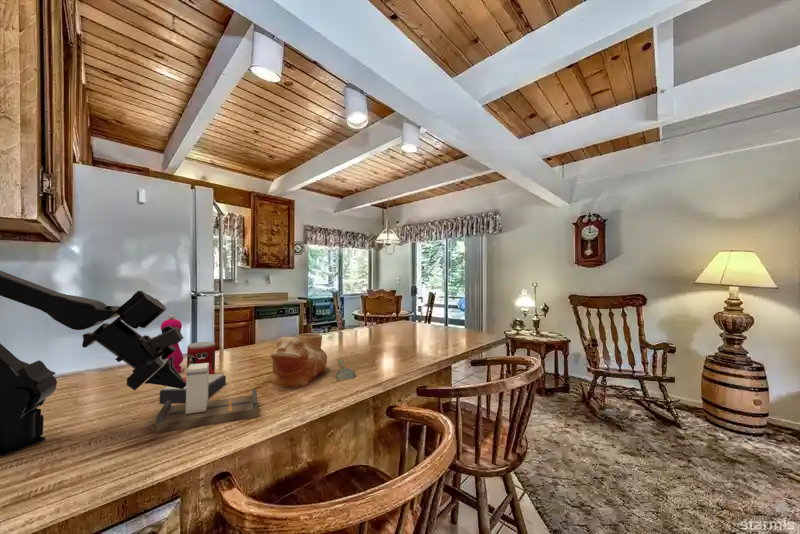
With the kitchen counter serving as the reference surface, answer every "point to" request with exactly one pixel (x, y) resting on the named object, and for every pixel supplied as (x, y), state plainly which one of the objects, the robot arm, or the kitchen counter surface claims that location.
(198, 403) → the slider knob
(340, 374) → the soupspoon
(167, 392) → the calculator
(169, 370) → the robot arm
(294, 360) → the ceramic vessel
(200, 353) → the canned food
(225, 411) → the panel
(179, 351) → the pepper mill
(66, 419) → the kitchen counter surface
